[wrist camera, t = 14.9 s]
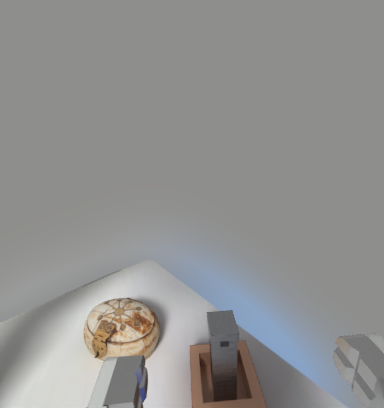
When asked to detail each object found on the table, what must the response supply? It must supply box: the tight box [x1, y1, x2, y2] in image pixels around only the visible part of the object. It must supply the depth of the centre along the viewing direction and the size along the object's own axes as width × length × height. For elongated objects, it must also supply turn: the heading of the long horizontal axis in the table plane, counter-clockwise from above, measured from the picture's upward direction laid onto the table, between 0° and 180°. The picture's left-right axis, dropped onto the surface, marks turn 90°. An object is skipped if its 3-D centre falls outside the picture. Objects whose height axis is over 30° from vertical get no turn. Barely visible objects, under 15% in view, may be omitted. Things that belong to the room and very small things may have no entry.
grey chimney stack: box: [207, 310, 239, 401], centre depth 30 cm, size 4×4×13 cm
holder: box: [190, 341, 267, 408], centre depth 32 cm, size 10×10×4 cm
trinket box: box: [84, 298, 160, 361], centre depth 41 cm, size 13×15×8 cm
